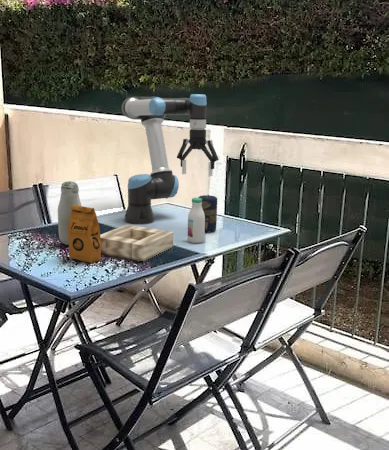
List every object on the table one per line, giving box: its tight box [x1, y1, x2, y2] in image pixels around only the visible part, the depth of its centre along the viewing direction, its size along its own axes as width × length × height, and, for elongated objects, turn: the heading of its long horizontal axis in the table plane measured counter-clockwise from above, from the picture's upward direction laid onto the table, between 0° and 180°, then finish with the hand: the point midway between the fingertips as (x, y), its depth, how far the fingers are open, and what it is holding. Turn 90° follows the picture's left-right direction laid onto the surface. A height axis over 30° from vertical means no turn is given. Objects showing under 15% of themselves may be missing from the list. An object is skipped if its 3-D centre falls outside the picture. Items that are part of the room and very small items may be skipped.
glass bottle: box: [57, 181, 82, 246], centre depth 245 cm, size 10×10×28 cm
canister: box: [197, 194, 218, 233], centre depth 275 cm, size 10×10×18 cm
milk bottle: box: [187, 197, 206, 244], centre depth 256 cm, size 8×8×20 cm
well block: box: [100, 223, 174, 263], centre depth 243 cm, size 24×24×7 cm
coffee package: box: [68, 205, 102, 264], centre depth 227 cm, size 10×12×22 cm
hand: (197, 175), depth 264 cm, fingers open, 13 cm apart
